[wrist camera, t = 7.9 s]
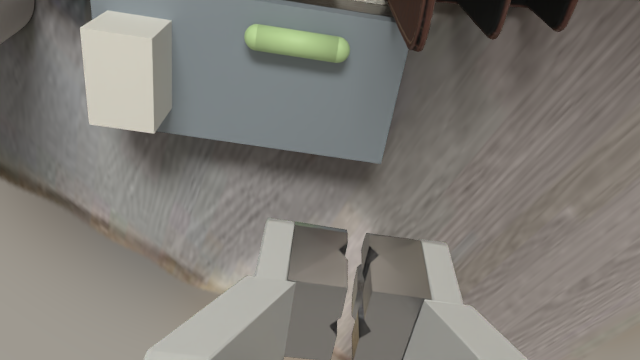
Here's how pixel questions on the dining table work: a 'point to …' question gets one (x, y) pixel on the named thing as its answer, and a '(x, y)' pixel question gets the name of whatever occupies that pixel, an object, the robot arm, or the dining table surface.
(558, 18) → the letter holder
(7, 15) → the coffee cup
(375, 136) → the tilted grey plate
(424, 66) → the dining table surface
